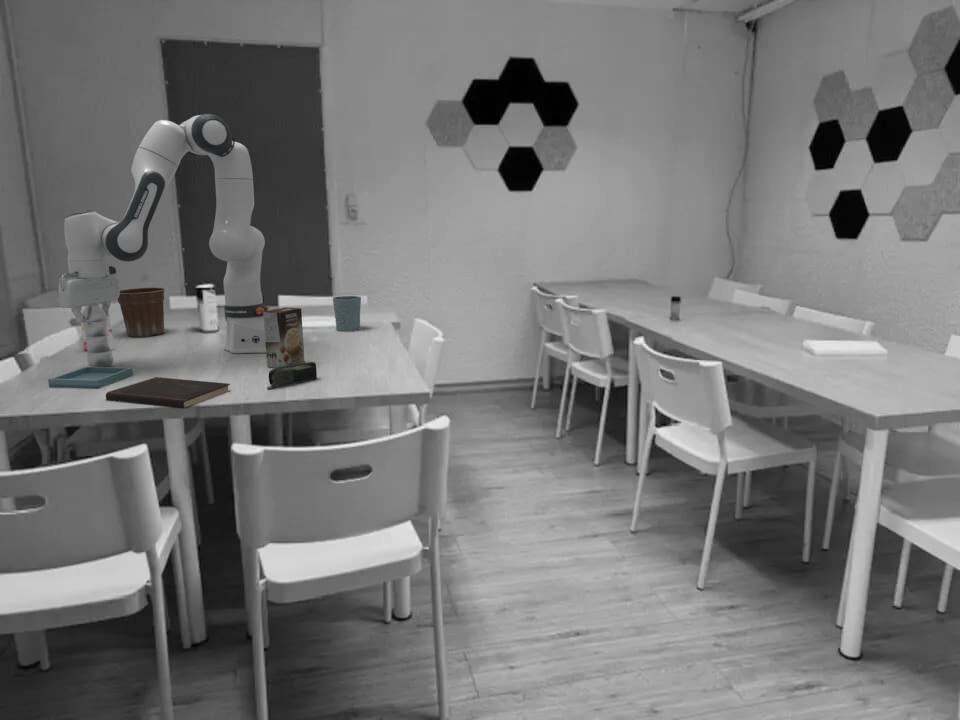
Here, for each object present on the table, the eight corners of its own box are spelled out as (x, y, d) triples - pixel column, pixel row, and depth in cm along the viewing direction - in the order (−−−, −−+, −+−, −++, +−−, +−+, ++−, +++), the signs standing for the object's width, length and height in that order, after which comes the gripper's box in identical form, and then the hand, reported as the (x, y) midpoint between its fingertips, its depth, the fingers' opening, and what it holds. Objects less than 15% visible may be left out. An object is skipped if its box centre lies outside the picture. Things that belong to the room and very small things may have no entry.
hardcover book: (157, 385, 177) (156, 376, 176) (230, 392, 169) (229, 383, 169) (106, 402, 162) (104, 392, 161) (183, 410, 154) (182, 400, 154)
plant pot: (117, 340, 236) (111, 293, 232) (123, 332, 250) (117, 288, 247) (168, 336, 241) (163, 291, 238) (171, 329, 256) (166, 286, 253)
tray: (133, 374, 186) (132, 367, 185) (98, 388, 172) (97, 380, 172) (87, 373, 188) (86, 366, 187) (49, 386, 174) (47, 379, 174)
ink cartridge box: (83, 350, 219) (76, 305, 216) (97, 347, 224) (91, 303, 220) (101, 352, 216) (95, 306, 212) (115, 349, 220) (109, 304, 217)
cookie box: (283, 369, 191) (279, 312, 187) (266, 367, 193) (261, 311, 190) (305, 362, 199) (301, 308, 195) (288, 360, 201) (284, 306, 198)
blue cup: (330, 331, 247) (328, 298, 244) (340, 326, 257) (338, 295, 254) (357, 332, 245) (355, 299, 243) (366, 327, 255) (364, 295, 252)
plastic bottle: (103, 370, 191) (93, 300, 187) (82, 369, 192) (72, 299, 188) (119, 365, 197) (110, 297, 193) (99, 364, 199) (89, 296, 194)
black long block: (311, 360, 181) (261, 369, 169) (318, 361, 179) (268, 371, 167) (312, 378, 182) (262, 388, 170) (319, 380, 180) (269, 390, 168)
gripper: (70, 274, 178) (76, 326, 181) (121, 267, 198) (126, 314, 201) (48, 273, 179) (55, 325, 182) (101, 266, 199) (107, 313, 202)
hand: (93, 319), depth 192 cm, fingers open, 8 cm apart
